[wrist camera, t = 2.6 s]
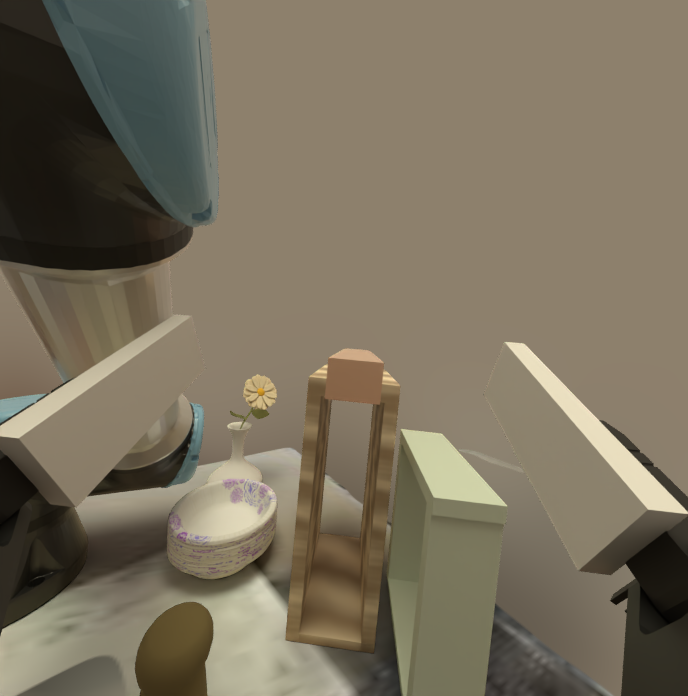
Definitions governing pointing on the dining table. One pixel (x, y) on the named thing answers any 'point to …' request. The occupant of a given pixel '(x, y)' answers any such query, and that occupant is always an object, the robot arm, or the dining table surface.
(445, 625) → the pale green rectangular frame
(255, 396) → the flower in vase
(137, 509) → the dining table surface
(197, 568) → the paper bowls
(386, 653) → the dining table surface
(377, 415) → the birch stand
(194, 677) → the cork
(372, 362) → the salmon orange bar
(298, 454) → the dining table surface
